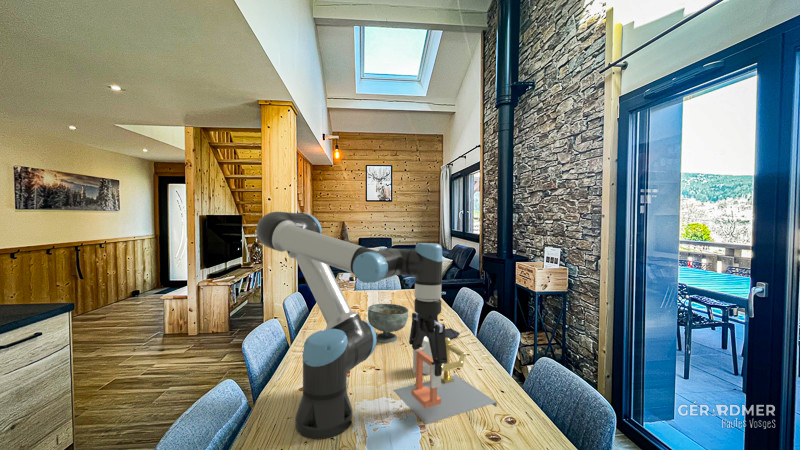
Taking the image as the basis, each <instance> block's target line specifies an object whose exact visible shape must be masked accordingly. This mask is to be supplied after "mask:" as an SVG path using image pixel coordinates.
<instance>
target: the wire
mask: <svg viewBox="0 0 800 450" xmlns="http://www.w3.org/2000/svg"><path fill="white" fill-rule="evenodd" d="M451 341H452V339H451V340H450V339H449V338H445V342H446V351H447V363H444V365H442V371H444V372H443V374H442V375H441V381H442V382H444V383H445V384H446V383H450V382H454V378H453V377H451V376H452V375H450V370H454V369H458V368H462V367H463V366H464V363H465V360H466V357H467V354H466V352H464V351H462V350H461V349H459V348H457V347H456V346H453V345H451V343H452V342H451ZM450 352H452V353H453V354H455V355H457V356H459V358H458V359H459V360H458V361H454V362H451V353H450Z"/></svg>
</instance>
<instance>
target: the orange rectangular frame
mask: <svg viewBox="0 0 800 450" xmlns="http://www.w3.org/2000/svg"><path fill="white" fill-rule="evenodd" d="M423 361H424V362H426V363H427V364H428V365H430V375H429V381H430V389H429V388H428V387H427V386H425V387H422V384H423V383H424V382H423V380H424V379H423V378H424V376H423V375H424V373H423ZM432 362H433V358H431V357H430V356H428V355H427V354H426V353H424V352H423V351H421V350H419V351H417V357H416V373H415V385H416V388H417V389H413V390H412V392H411V395H412V396H413V397H414V398H415V399H416V400H417V401H418V402H419V403H420V404H421V405H422V406H424V407H425V408H428V407H432V406H435V405H439V404H441V398H440V397H438V396H437V387H436V388H431V363H432Z"/></svg>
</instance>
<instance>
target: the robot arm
mask: <svg viewBox="0 0 800 450" xmlns="http://www.w3.org/2000/svg"><path fill="white" fill-rule="evenodd" d="M255 232H256V237H257V240H258V241H259V243H261V245H263V246H264V247H267V248H268V249H271V250H275V251H278V252H281V253H283V252H287V254H288V257H289V258H291V259H295V260H296V262H297V264H298V266H299V268H300V271H301V272H302V275H303V277H304V279H305V281H306V284H307V285H308V287H309V289H310V291H311V293H312V295H313V297H314V300H315V302H316V304H317V306H318V309H319V310H320V313H321V315H322V316H323V319H324V320H325V323H326V328H325V329H324V330H318V331H315V332H313V333H311V334H310V335H308V337H307V338H305V341H304V343H303V351H302V396H301V399H300V403H299V404H298V409H297V412H296V415H295V429H296V431H297V432H298V434H300V435H302V436H304V438H305V437H306V438H308V439H309V438H310V439H327V438H331V437H334V436H337V435H340V434H342V433H343V432H345V431H346V430H348V428H350V426H351V424H352V422H353V421H352V420H353V419H352V418H353V408H352V404H351V401H350V398H349V397H350V396H349V394H348V392H347V379H348V377H347V373H348V372H350V371H351V370H352V369H354V368H355V367H357V366H358V365H359V364H361V363H363V362H364V361H366V360H367V359H368V358H369V357H370V356H371V355H372V354H373V353H374V351H375V349H376V345H377V340H376V337H377V334H376V331H375V330H376V329H375V328H374V327H372V326H371V324H370V323H369V322H368V321H366V320H362V318H361V315H360V314H359V313H358V312H356V311H353V310H352V309H351V307H350V305H349V303H348V301H347V299H346V296H344V293H343V291H342V289H341V287H340V285H339V283H338V281H337V279H336V277H335V275H334V273H333V271H332V269H331V267H333V268H337V269H339V270H342V271H345V272H348V273H349V274H353V275H354V276H355V277H356V278H357V280H358V281H360V282H362V283H364V284H370V283H376V282H377V283H378V282H380V281H381V280H384V279H387V278H392V277H395V276H410V277H413V276H414V297H415V299H414V309H413V310H414V312H413V313H412V314H411V326H410V327H411V328H410V334H409V339H408V340H409V341H408V343H409V345H411V348H412V349H413V351H412V353H413V355H412V360H413V361H412V373H414V374H416V357H417V351H419V350H421V351H423V349H422V347H423V346H422V342H423V339H424V337H425V334H426V337H427V338H428V339H429V344H430V348H431V353H432V358H433V362H432V363H431V388H436V387H440V386H441V376H442V375H443V374H442V373H443V372H442V364H444V363H447V351H446V342H445V329H446V325H445V323H440V322H439V317H438V316H439V315H440V314H441V313H442V299H441V298H442V286H443V285H442V284H443V281H442V279H443V262H444V259H443V247H442V245H441V244H439V243H433V242H430V243H429V242H420V243H419V242H418V243H416V245H415V249H402V248H392V247H386V248H385V247H383V248H380V249H378V250H374V249H372V248H369V247H365V246H361V245H359V244H356V243H352V242H349V241H346V240H342V239H339V238H336V237H332V236H329V235H326V234H323V233H322V232H323V229H322V226H321V223H320V221H319V220H318V219H317V218H316V217H315V216H313V215H312V214H310V213H305V212H287V211H271V212H269V213H266V214H265V215H263V216H262V217H261V218H260V219H259V220H258V222H257V225H256V230H255ZM330 266H331V267H330ZM434 331H435V333H433V332H434ZM430 333H433V334H430Z"/></svg>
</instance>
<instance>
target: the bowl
mask: <svg viewBox="0 0 800 450" xmlns="http://www.w3.org/2000/svg"><path fill="white" fill-rule="evenodd" d="M408 319H409V309H408V308H407V307H405V306H403V305H400V304H396V303H395V304H394V303H375V304H372V305H370V306H368V308H367V322H368V323H369V324H371V326H372V327H373V328H374V330H377V331H380V332H382V333H379V334H376V342H379V343H387V344H388V343H391V342H392V343H393V342H396V341H397V339H398V336H397V335H396V334H395V333H394V332H398V331H400V330H402V329H403V328H404V327H406V325H407V322H408Z"/></svg>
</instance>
